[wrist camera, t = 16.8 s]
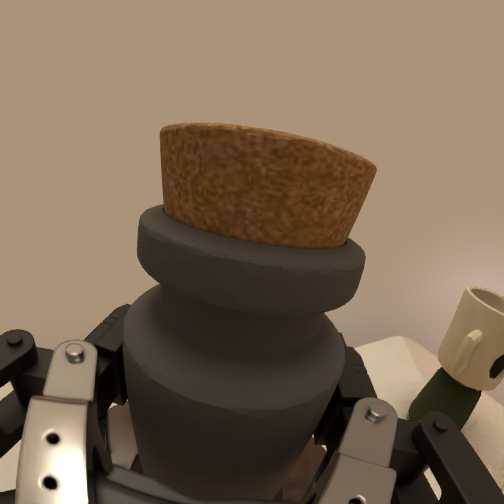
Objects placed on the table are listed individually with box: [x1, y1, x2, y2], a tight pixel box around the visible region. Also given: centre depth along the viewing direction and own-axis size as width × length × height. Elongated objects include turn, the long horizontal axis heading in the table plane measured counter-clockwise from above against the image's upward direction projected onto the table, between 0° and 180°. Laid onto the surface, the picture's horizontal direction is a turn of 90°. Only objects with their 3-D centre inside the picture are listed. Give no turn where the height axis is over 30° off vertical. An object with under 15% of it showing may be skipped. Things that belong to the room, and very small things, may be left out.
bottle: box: [122, 123, 377, 500], centre depth 8 cm, size 6×6×15 cm
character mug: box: [409, 285, 504, 430], centre depth 17 cm, size 11×7×13 cm, turn 113°
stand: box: [109, 401, 326, 504], centre depth 11 cm, size 14×14×4 cm
